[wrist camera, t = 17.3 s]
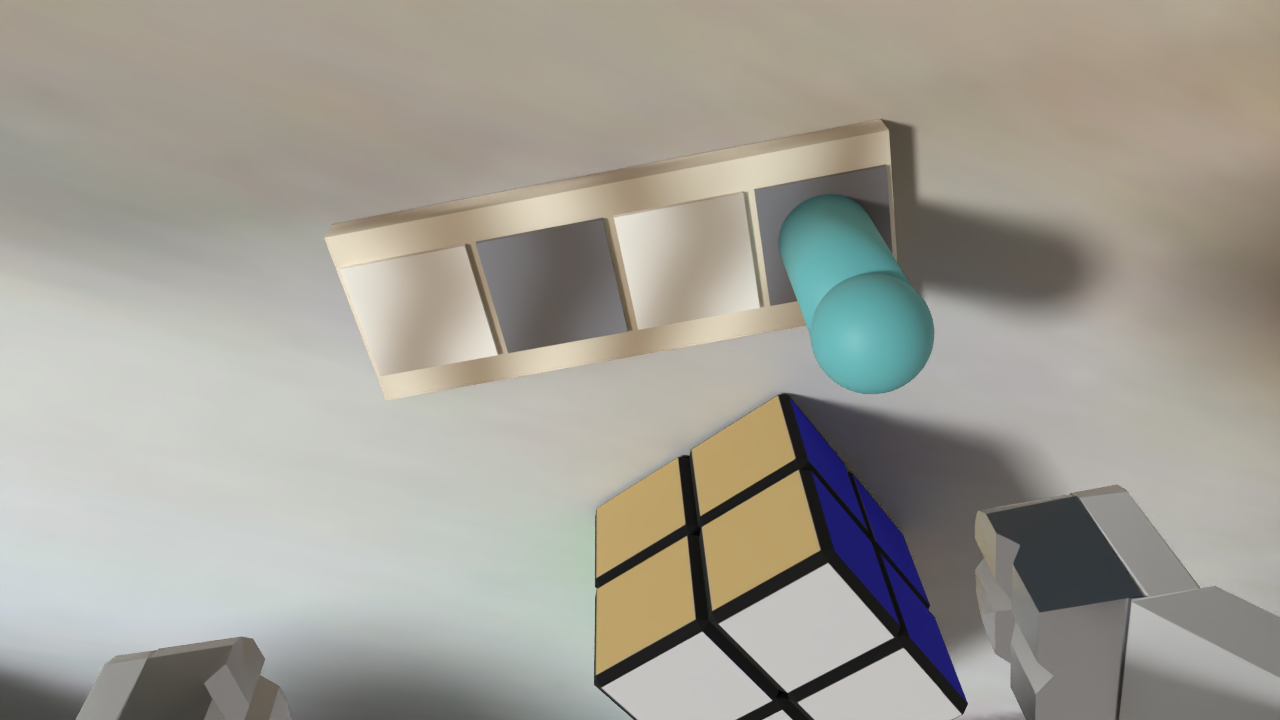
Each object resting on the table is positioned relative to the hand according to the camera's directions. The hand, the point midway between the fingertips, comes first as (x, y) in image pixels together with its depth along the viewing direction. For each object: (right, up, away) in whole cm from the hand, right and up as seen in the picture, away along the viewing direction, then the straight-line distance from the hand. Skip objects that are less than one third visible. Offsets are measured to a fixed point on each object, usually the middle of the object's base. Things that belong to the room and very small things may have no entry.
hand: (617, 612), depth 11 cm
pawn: (+7, +7, +25) cm, 27 cm away
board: (0, +7, +27) cm, 28 cm away
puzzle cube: (+5, -4, +34) cm, 34 cm away
